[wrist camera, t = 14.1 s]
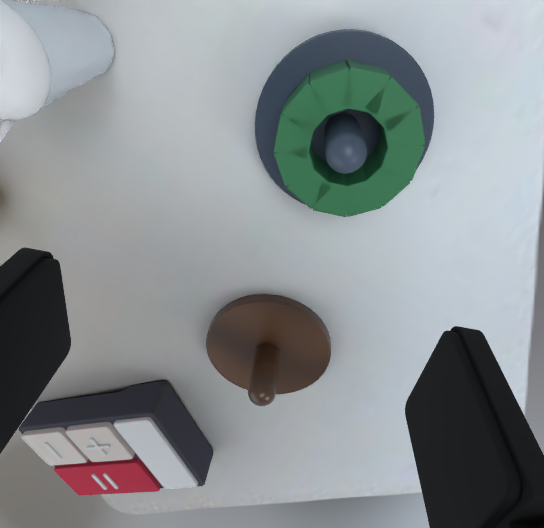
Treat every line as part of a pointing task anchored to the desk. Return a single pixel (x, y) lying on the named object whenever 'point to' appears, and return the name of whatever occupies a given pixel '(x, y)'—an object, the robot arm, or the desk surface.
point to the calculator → (120, 441)
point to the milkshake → (46, 56)
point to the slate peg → (348, 123)
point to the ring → (378, 165)
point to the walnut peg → (268, 346)
